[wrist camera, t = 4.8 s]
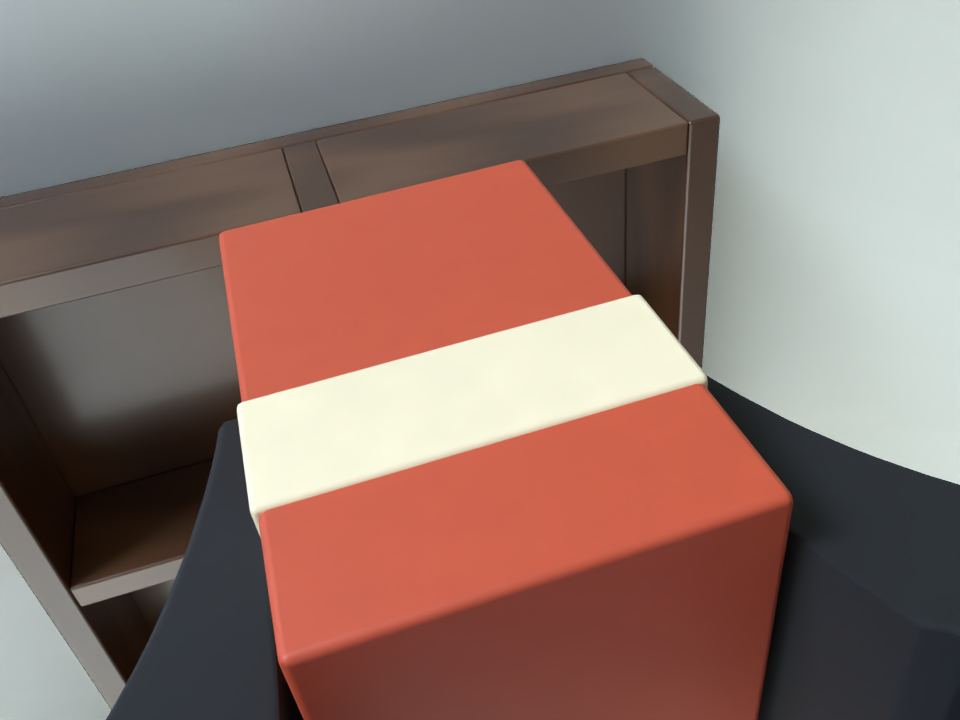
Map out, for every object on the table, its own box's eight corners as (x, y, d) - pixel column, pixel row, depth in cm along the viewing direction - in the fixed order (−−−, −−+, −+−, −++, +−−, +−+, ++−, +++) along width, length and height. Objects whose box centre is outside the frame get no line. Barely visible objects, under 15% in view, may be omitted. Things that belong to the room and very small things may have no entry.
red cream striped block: (308, 510, 16) (395, 941, 10) (211, 228, 12) (268, 663, 7) (550, 438, 16) (750, 806, 11) (527, 152, 13) (806, 491, 7)
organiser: (156, 673, 28) (158, 782, 25) (-108, 219, 18) (-152, 318, 15) (636, 523, 30) (685, 607, 28) (643, 56, 20) (721, 115, 18)
